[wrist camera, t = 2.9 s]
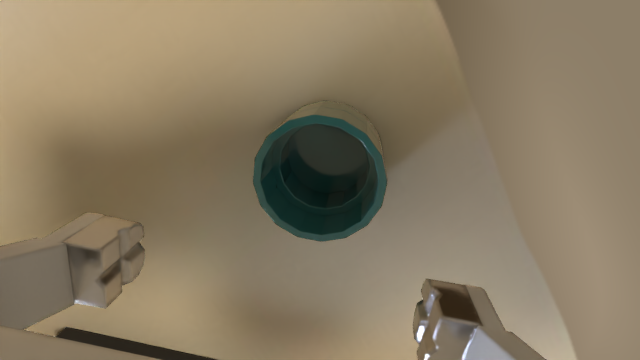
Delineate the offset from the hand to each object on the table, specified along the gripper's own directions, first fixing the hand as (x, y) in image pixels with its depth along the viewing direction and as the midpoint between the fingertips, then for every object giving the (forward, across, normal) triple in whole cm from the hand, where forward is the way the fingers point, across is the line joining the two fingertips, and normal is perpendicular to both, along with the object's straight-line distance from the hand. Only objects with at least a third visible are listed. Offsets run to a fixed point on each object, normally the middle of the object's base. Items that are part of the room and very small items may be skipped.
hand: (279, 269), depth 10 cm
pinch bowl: (+12, 0, 0) cm, 12 cm away
